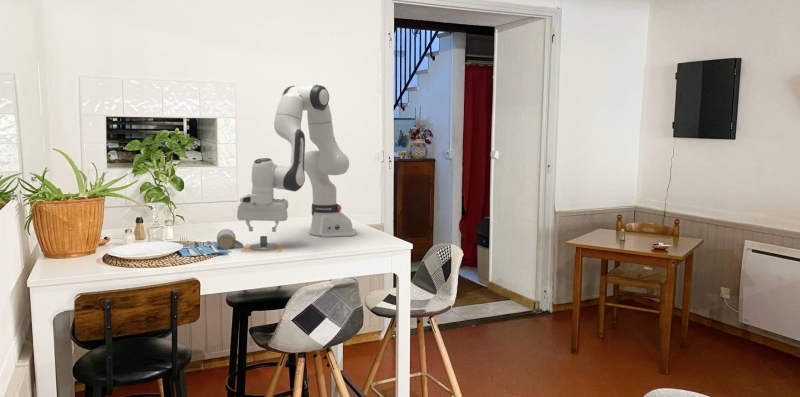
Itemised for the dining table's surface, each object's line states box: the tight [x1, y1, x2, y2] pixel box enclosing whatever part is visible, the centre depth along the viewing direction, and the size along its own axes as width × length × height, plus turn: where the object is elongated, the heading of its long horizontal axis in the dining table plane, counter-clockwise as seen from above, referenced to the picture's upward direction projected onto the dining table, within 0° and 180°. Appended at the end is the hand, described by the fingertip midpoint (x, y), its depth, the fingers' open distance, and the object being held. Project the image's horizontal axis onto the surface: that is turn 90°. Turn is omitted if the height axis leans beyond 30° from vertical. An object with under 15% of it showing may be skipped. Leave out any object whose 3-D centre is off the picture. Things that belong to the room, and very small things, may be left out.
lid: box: [250, 235, 277, 251], centre depth 255 cm, size 11×11×5 cm
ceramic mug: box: [216, 228, 244, 250], centre depth 255 cm, size 11×8×8 cm
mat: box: [240, 243, 286, 253], centre depth 255 cm, size 16×16×1 cm
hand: (262, 231), depth 254 cm, fingers open, 8 cm apart
